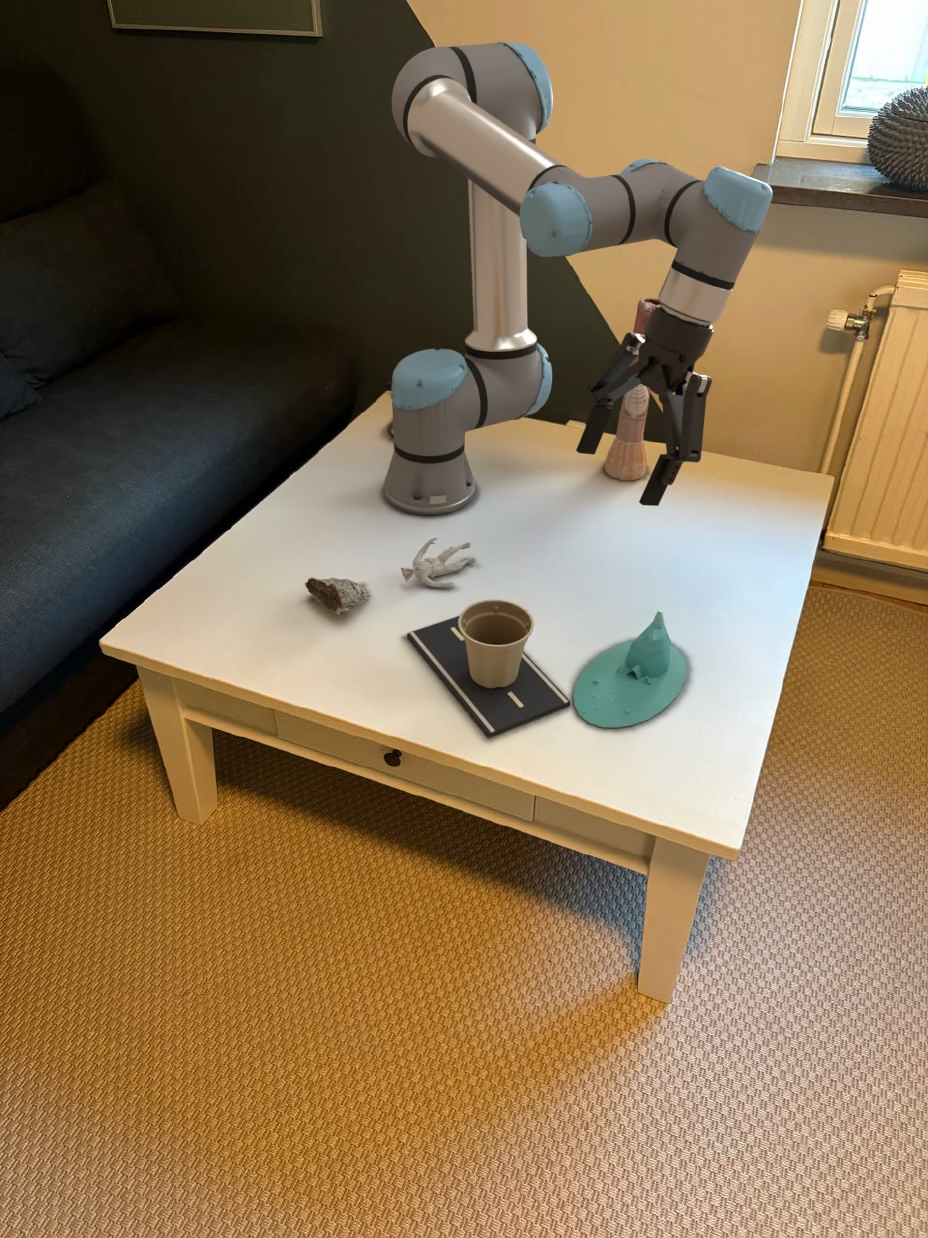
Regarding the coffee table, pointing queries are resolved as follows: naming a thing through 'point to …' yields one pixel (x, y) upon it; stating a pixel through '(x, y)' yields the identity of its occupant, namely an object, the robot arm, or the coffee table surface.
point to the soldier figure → (435, 565)
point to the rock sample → (337, 593)
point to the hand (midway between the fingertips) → (615, 477)
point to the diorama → (631, 680)
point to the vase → (632, 417)
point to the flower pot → (495, 640)
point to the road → (486, 705)
